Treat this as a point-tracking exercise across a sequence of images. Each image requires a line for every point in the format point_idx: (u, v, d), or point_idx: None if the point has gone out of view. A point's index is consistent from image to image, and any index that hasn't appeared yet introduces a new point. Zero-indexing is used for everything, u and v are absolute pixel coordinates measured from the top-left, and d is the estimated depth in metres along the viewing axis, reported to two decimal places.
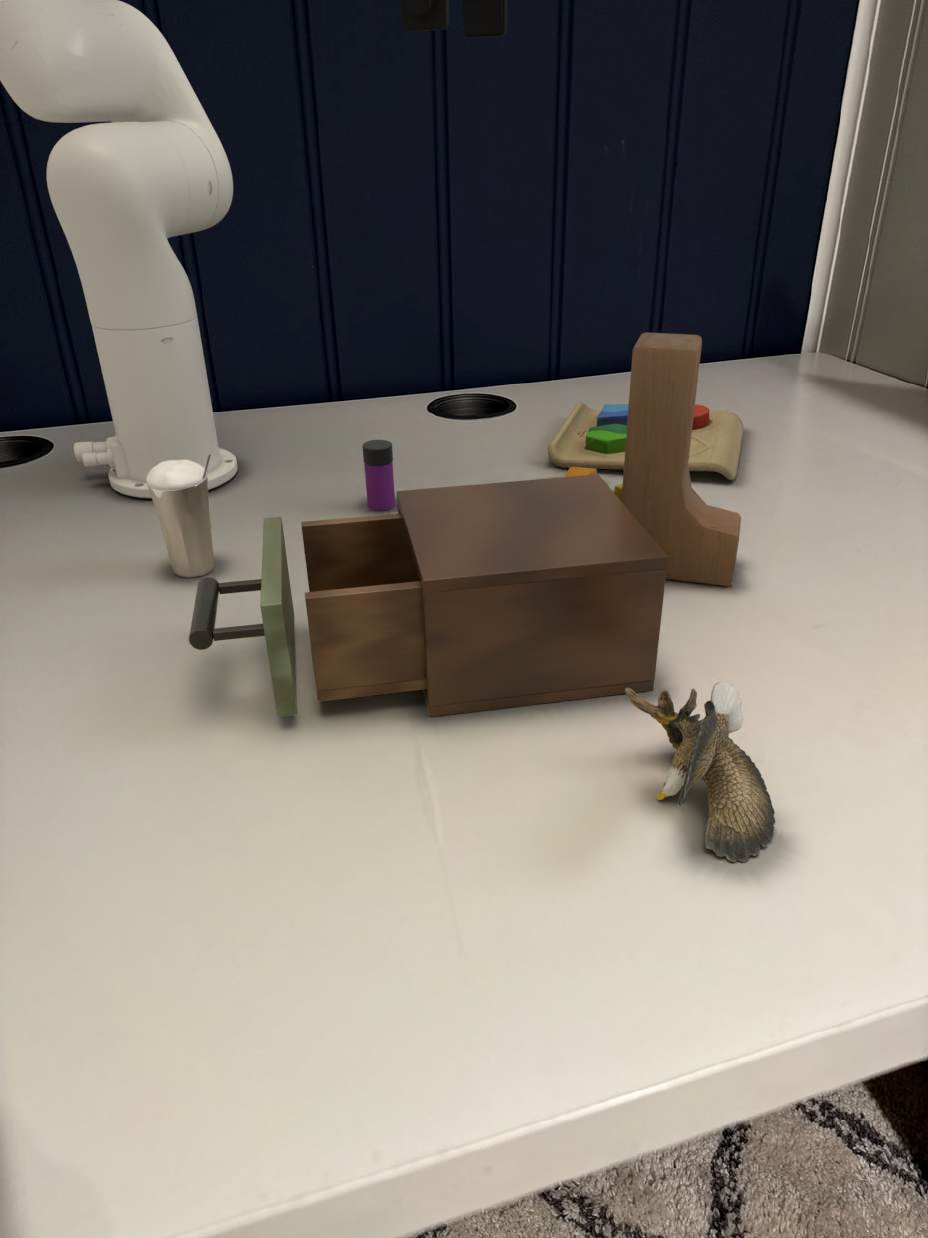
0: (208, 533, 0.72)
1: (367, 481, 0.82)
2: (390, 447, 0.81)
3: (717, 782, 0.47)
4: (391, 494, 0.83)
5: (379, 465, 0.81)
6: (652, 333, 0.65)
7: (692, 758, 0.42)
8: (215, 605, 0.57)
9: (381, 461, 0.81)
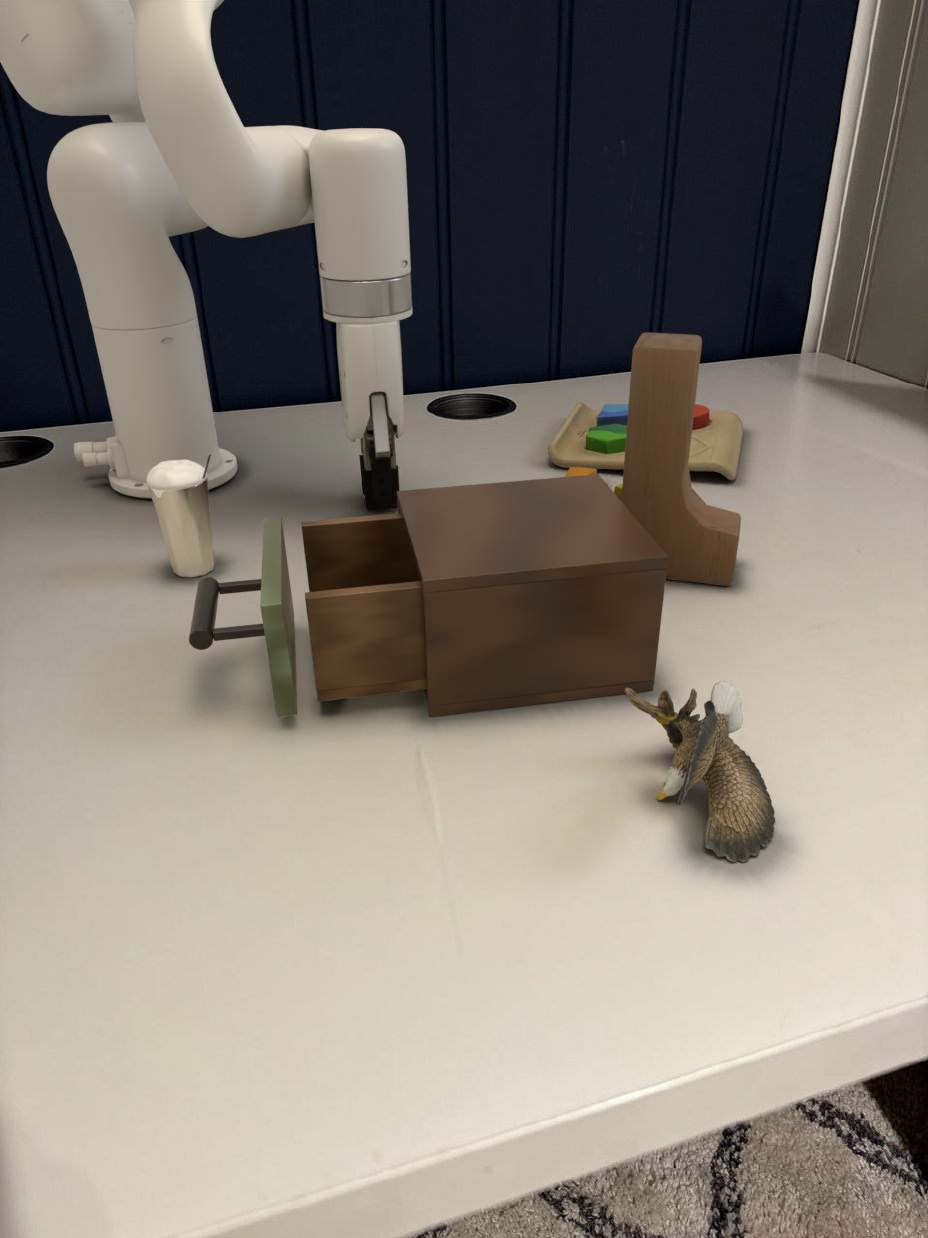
0: (208, 533, 0.72)
1: None
2: None
3: (717, 782, 0.47)
4: None
5: None
6: (652, 333, 0.65)
7: (692, 758, 0.42)
8: (215, 605, 0.57)
9: None
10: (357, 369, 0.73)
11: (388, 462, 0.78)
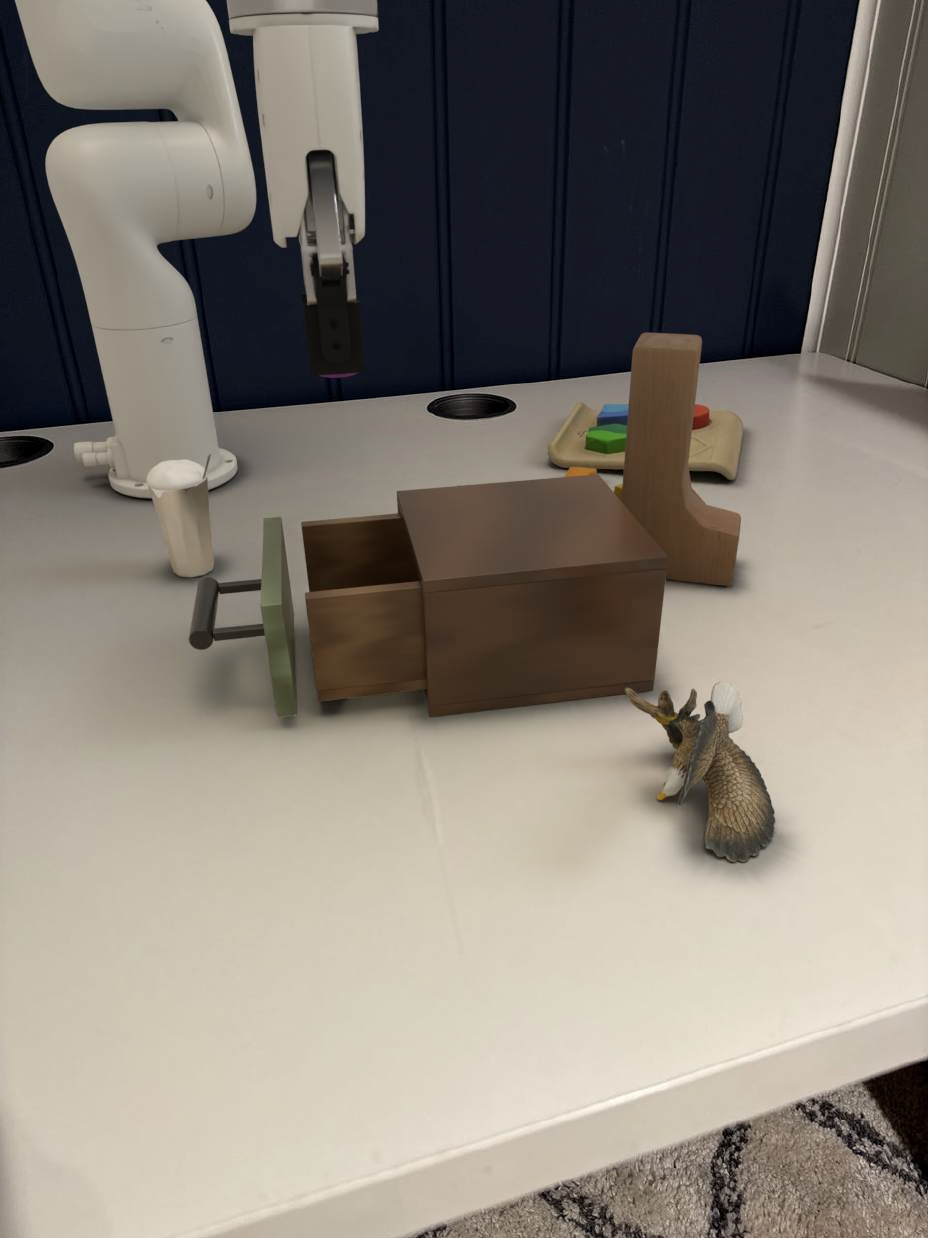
0: (208, 533, 0.72)
1: None
2: None
3: (717, 782, 0.47)
4: None
5: None
6: (652, 333, 0.65)
7: (692, 758, 0.42)
8: (215, 605, 0.57)
9: None
10: (284, 105, 0.43)
11: (342, 287, 0.49)
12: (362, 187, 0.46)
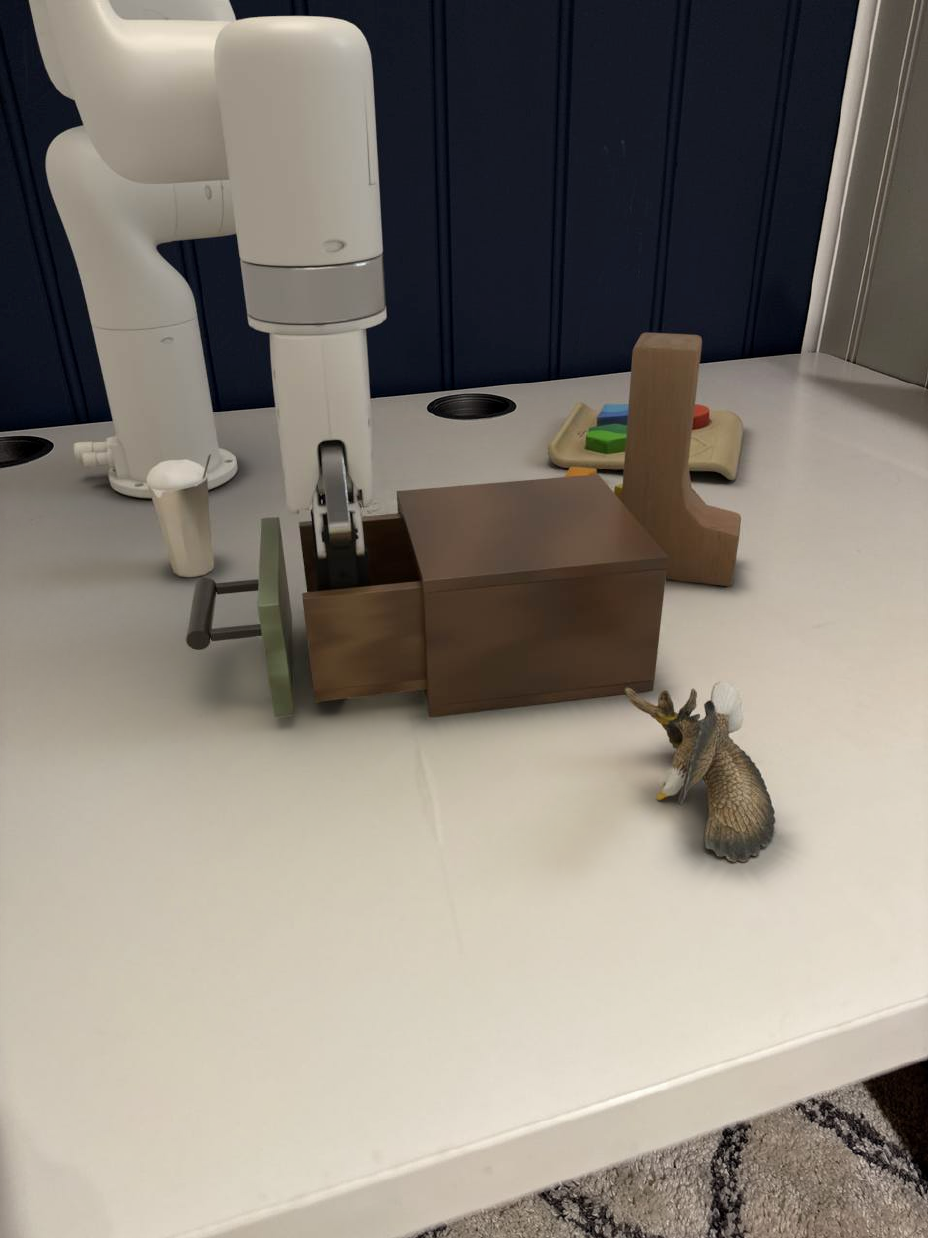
0: (208, 533, 0.72)
1: None
2: None
3: (717, 782, 0.47)
4: None
5: None
6: (652, 333, 0.65)
7: (692, 758, 0.42)
8: (212, 605, 0.57)
9: None
10: (298, 405, 0.46)
11: (352, 548, 0.51)
12: (370, 466, 0.49)
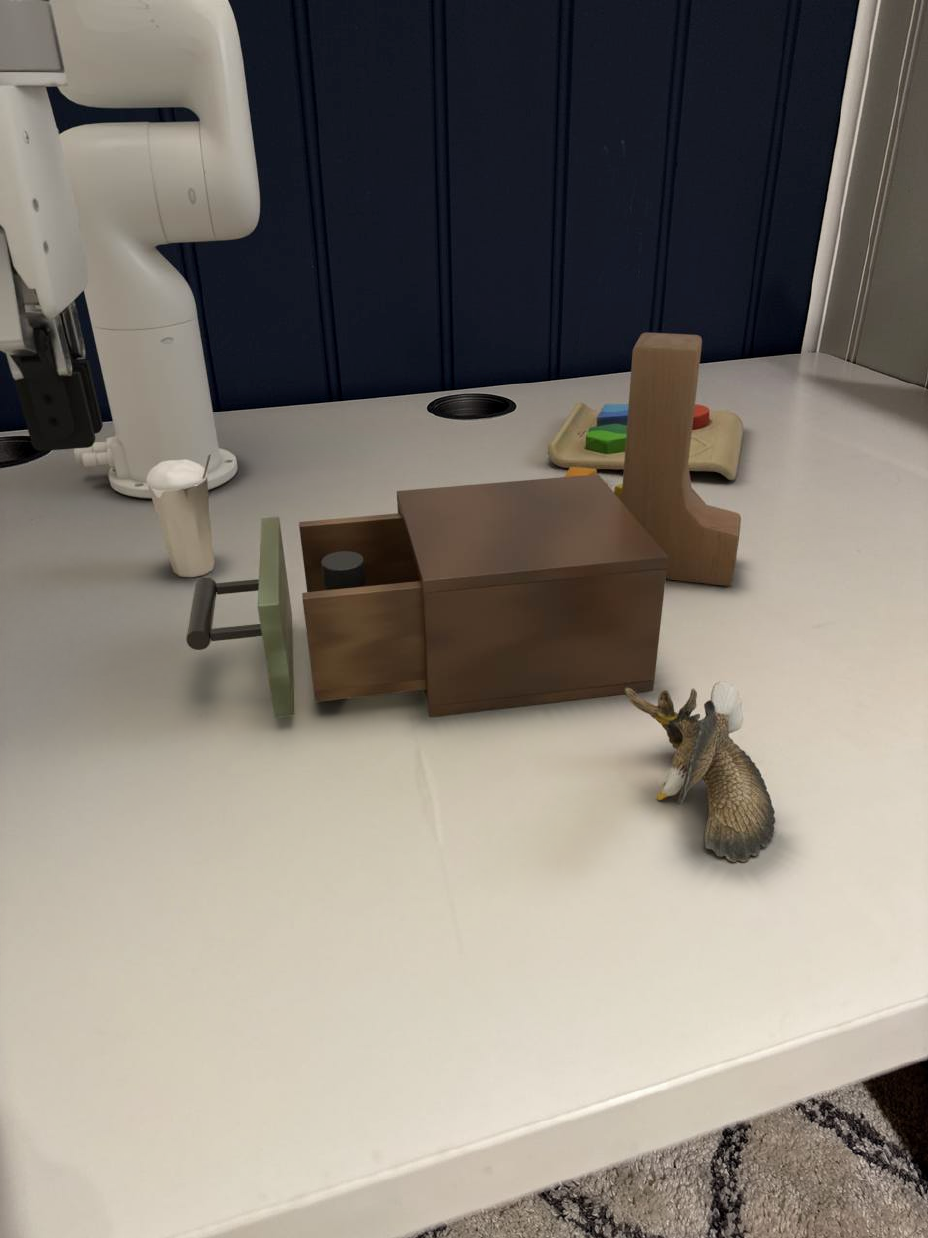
0: (208, 533, 0.72)
1: None
2: (361, 565, 0.56)
3: (717, 782, 0.47)
4: None
5: None
6: (652, 333, 0.65)
7: (692, 758, 0.42)
8: (213, 605, 0.57)
9: (348, 585, 0.56)
10: None
11: (45, 361, 0.45)
12: (43, 260, 0.41)
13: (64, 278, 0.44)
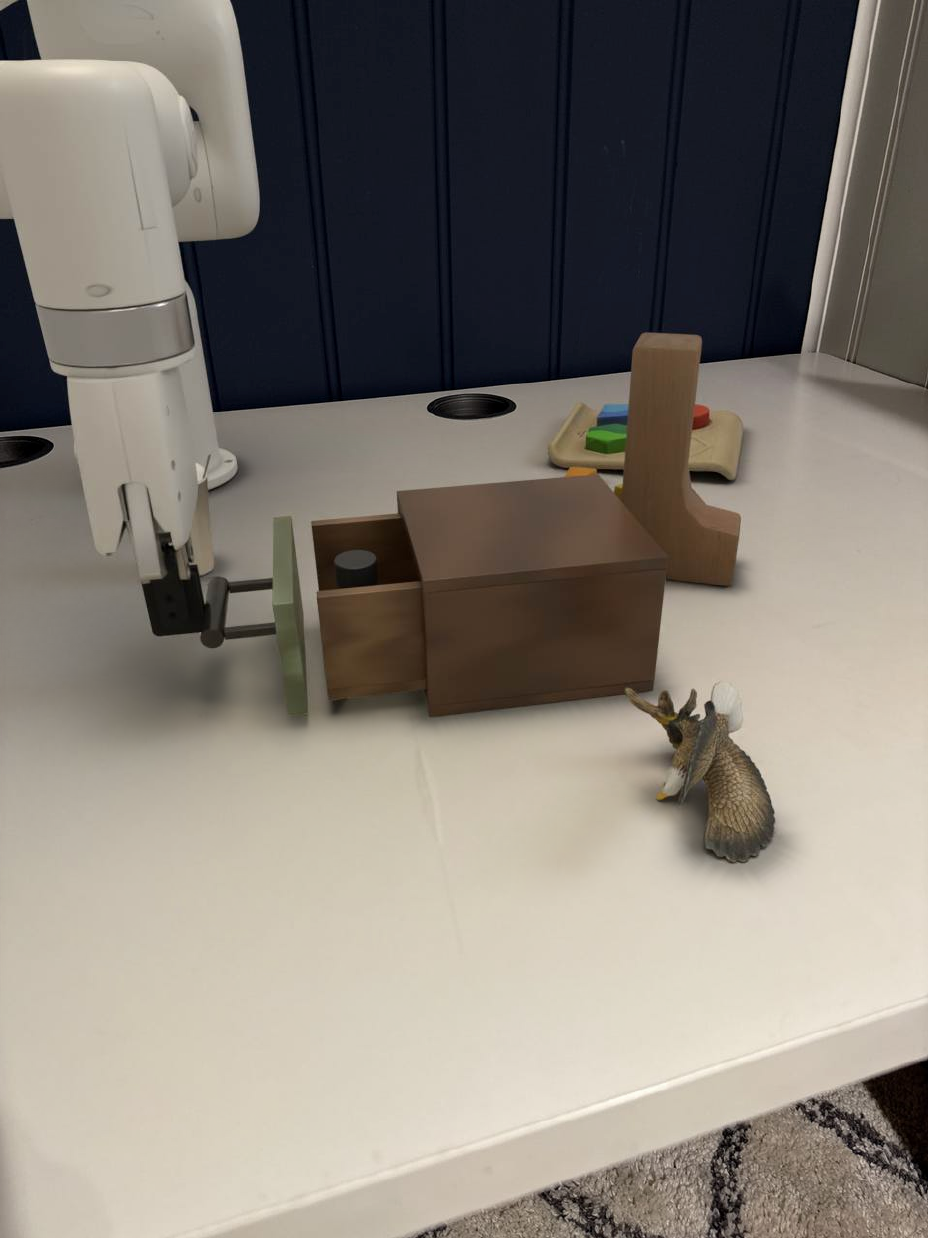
0: (208, 533, 0.72)
1: None
2: (374, 564, 0.56)
3: (717, 782, 0.47)
4: None
5: None
6: (652, 333, 0.65)
7: (692, 758, 0.42)
8: (226, 604, 0.57)
9: (361, 584, 0.56)
10: (93, 449, 0.46)
11: (171, 573, 0.52)
12: (177, 508, 0.48)
13: (189, 511, 0.51)
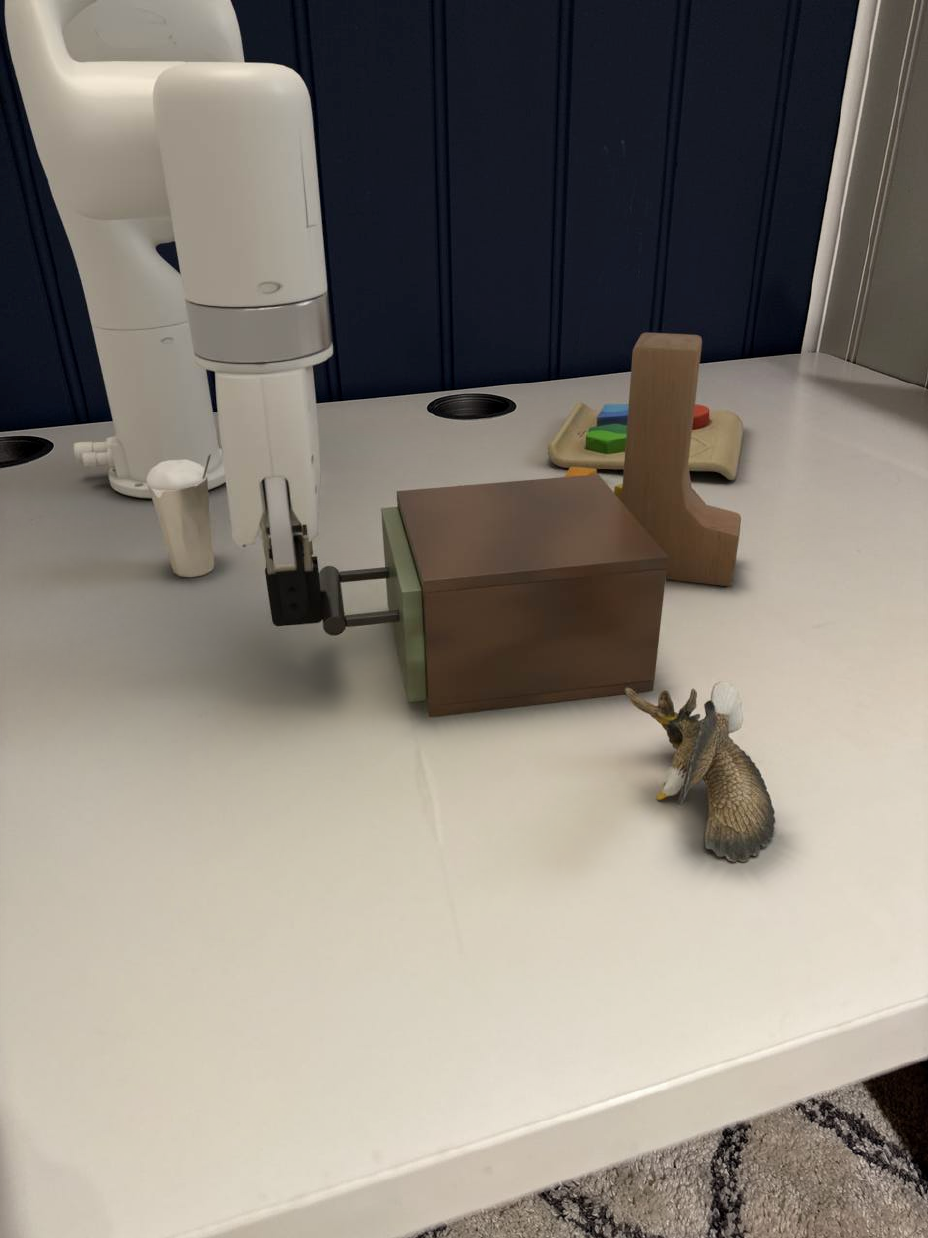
0: (208, 533, 0.72)
1: None
2: None
3: (717, 782, 0.47)
4: None
5: None
6: (652, 333, 0.65)
7: (692, 758, 0.42)
8: (341, 593, 0.58)
9: None
10: (240, 443, 0.47)
11: (298, 565, 0.53)
12: (314, 502, 0.49)
13: (319, 504, 0.52)
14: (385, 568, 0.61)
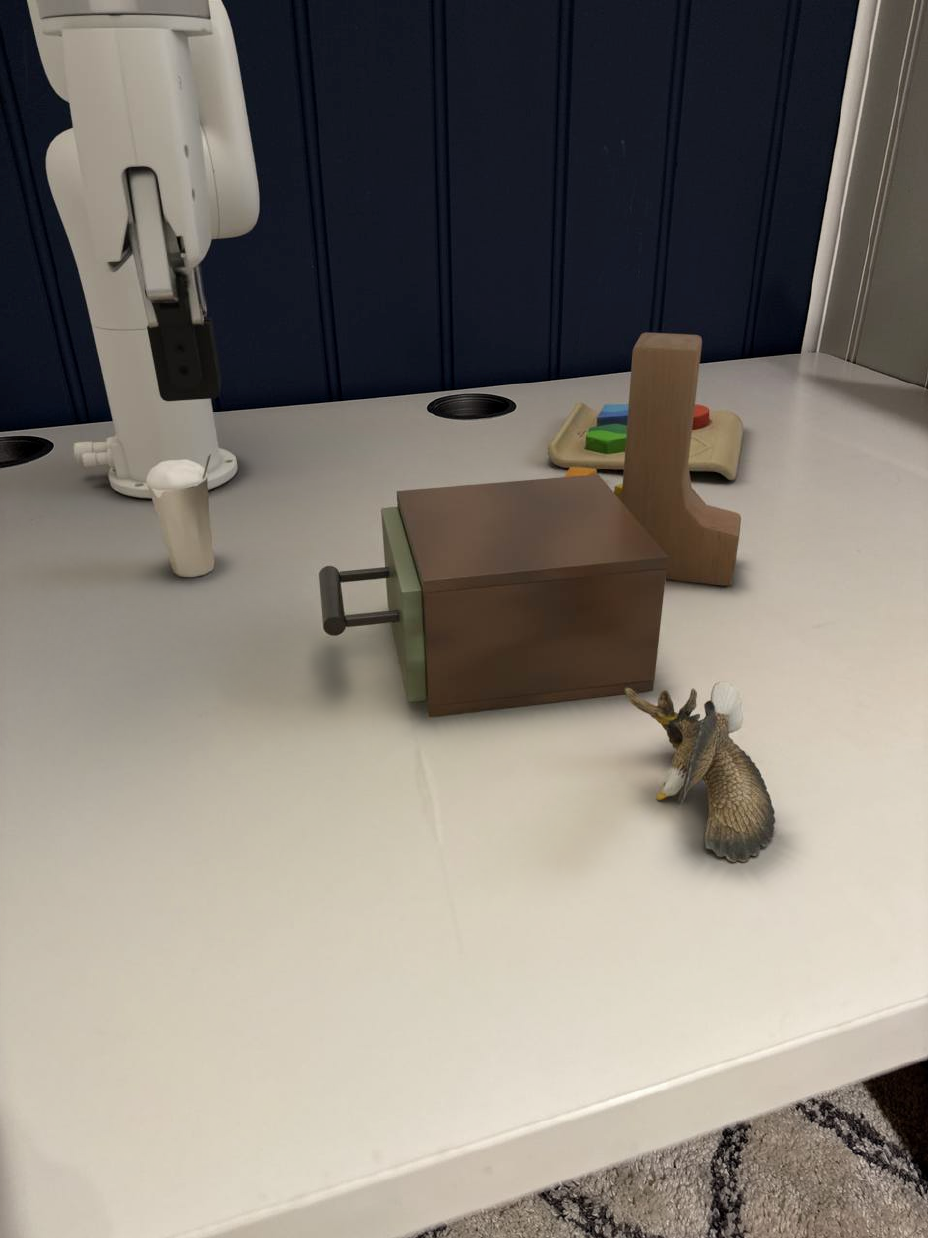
0: (208, 533, 0.72)
1: None
2: None
3: (717, 782, 0.47)
4: None
5: None
6: (652, 333, 0.65)
7: (692, 758, 0.42)
8: (341, 593, 0.58)
9: None
10: (93, 117, 0.39)
11: (182, 308, 0.45)
12: (191, 207, 0.41)
13: (203, 228, 0.44)
14: (385, 568, 0.61)
